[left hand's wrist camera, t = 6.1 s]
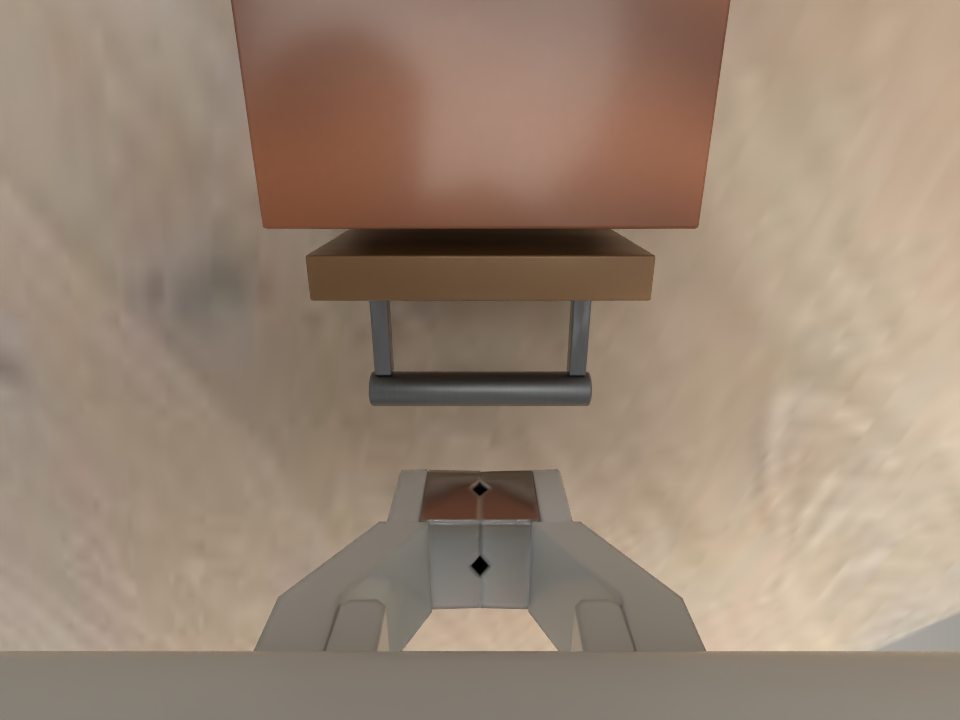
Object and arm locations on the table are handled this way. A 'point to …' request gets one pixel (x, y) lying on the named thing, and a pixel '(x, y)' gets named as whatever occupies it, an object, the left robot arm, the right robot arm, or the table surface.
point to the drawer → (480, 299)
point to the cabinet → (480, 111)
